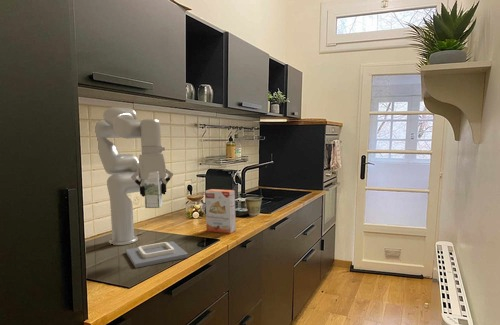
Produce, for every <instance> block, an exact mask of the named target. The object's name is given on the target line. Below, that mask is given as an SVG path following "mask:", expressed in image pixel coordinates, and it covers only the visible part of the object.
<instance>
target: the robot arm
mask: <svg viewBox="0 0 500 325" xmlns="http://www.w3.org/2000/svg"><path fill="white" fill-rule="evenodd" d="M102 117H103V119H100V120H101V121H98V122H97V123H96V126H95V133H96V137H97V141H98V150H99V153H98V156H99V158H100V161H101V163H102V167H103V169H104V171H105V172H106V174H108V175H109V176H108V177H107V180H106V187H107V192H108V196H109V203H110V204H109V205H110V218H111V219H110V220H111V221H110V222H111V223H110V224H111V236H112V237H111V238H109V240H108V244H109V243H110V244H109V245H111V244H113V245H112V246H125V245H126V246H127V245H131V244H133V243H135V242H136V243H137V241H138V240H139V238H138V236H137V235H135V228H134V227H135V226H134V210H133V209H134V207H133V201H132V199H131V198H130V197H129V196H128V194H133V193H139V194H140V196H142V197H143V198H145V187H144V183H145V182H144V180H147V179H148V176H149V173H150V172H155V171H159V178H160V179H161V184H162V195H163V196H164V195H166V192H167V184H168V183H169V181H171V179H172V177H173V176H174V173H173V172H171V171H170V170H168V169H167V168H166V162H165V160H166V159H165V156H164V153H162V152H165V150H166V149H165V147H162V138H161V137H162V135H161V133H162V132H161V122H160V120H159V119H155V118H145V119H138V116H137V113H136V111H135V110H134V109H133V108H131V107H119V106H118V107H115V106H112V107H108V108H107V109H105V110H104V112H103V115H102ZM108 138H109V139H108ZM111 138H113V139H115V138H118V139H119V138H121V139H122V138H123V139H129V140H130V139H131V140H132V139H140V145H141V147H140V148H141V154H139V156H138V157H137V156H136V155H134V154H133V153H131V154H130V153H119V150H118V148H117V145H116V144H114V142H112V141H111V140H110V139H111Z"/></svg>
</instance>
